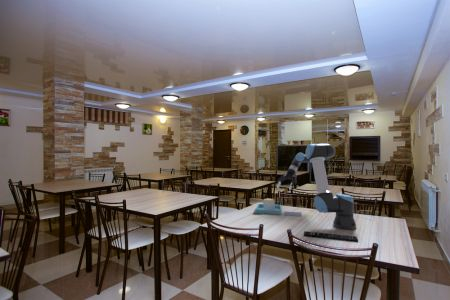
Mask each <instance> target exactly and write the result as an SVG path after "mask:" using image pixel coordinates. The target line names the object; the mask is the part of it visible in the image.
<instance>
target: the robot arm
mask: <svg viewBox="0 0 450 300" xmlns="http://www.w3.org/2000/svg"><path fill="white" fill-rule="evenodd" d="M335 155H336V148H335V147H334V146H333V145H332V144H329V143H309V144H308V145H307V146H306V149H305V154H304V153H303V152H298V153H297V154H296V155H295V157H294V158H293V160H292V161H291V164H290V166H289V168H288V170H287V172H286V173H283V174H282V175H281V176H280V177H279V178H278V179H277V185H276V188H277V189H279V188H280V186H281V184H282V182H284V181H286V180H291V183H290V185H289V186H288V189H289V190H290V191H291V190H292V188H293V187H294V185H297V184H298V183H297V182H298V180H297V177H298V176H297V175H296V173H297V171H298V169H299V167H300V166H301V164H302V163H312V169H313V175H314V181H315V185H316V186H315V187H316V191H317V192H316V194H315V197H314V198H313V205H314V207H315V209H316V211H318V212H319V213H323V214H326V213H328V214H329V213H331V214H332V213H335V216H334V219H333V224H332V225H333V227H335V228H337V229H340V230H341V229H342V230H356V229H357V224H356V220H355V218H354V203H355V202H354V197H353V196H351V195H348V194H344V193H335V196H334V193H333V192H332V191H330V186H329V181H328V176H327V171H326V167H325V161H326V159H331V158H333V157H335Z"/></svg>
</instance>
